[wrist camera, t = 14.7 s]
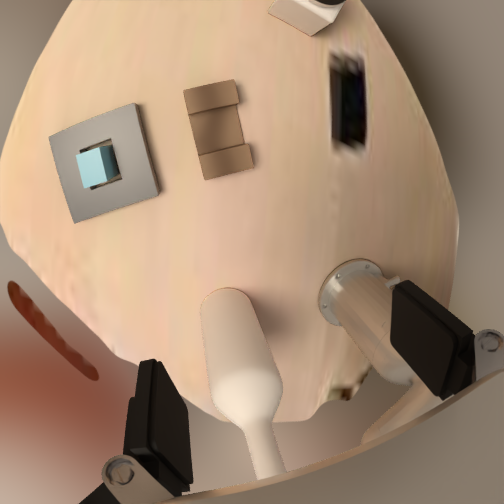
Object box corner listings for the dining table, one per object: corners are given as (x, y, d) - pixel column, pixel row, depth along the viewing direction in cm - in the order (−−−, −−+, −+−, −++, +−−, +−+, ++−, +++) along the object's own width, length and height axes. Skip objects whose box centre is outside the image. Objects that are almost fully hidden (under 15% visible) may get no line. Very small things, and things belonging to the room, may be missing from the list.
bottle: (252, 285, 46) (332, 461, 19) (250, 329, 49) (313, 496, 22) (198, 288, 44) (228, 481, 17) (201, 332, 47) (229, 512, 20)
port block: (137, 104, 33) (134, 102, 31) (160, 191, 38) (158, 195, 36) (55, 136, 32) (48, 136, 30) (80, 218, 37) (74, 223, 35)
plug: (111, 145, 34) (99, 147, 29) (118, 174, 36) (107, 181, 31) (91, 151, 34) (75, 155, 29) (98, 180, 36) (84, 188, 30)
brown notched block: (230, 83, 35) (234, 79, 31) (248, 165, 39) (253, 168, 36) (183, 94, 34) (183, 90, 31) (203, 176, 39) (205, 180, 35)
